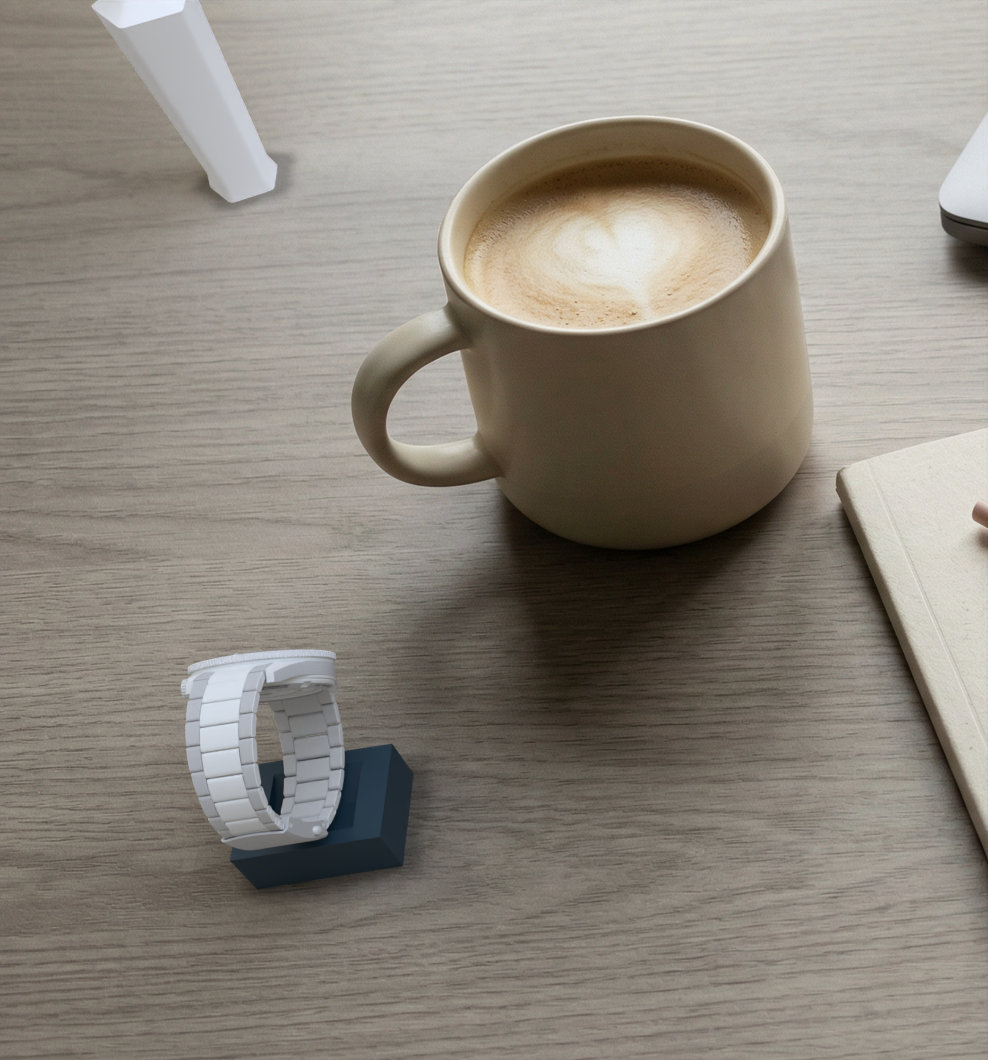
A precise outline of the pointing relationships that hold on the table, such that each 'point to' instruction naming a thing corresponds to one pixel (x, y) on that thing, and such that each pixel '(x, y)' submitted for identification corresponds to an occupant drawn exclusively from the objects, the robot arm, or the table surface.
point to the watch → (291, 771)
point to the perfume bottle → (193, 89)
